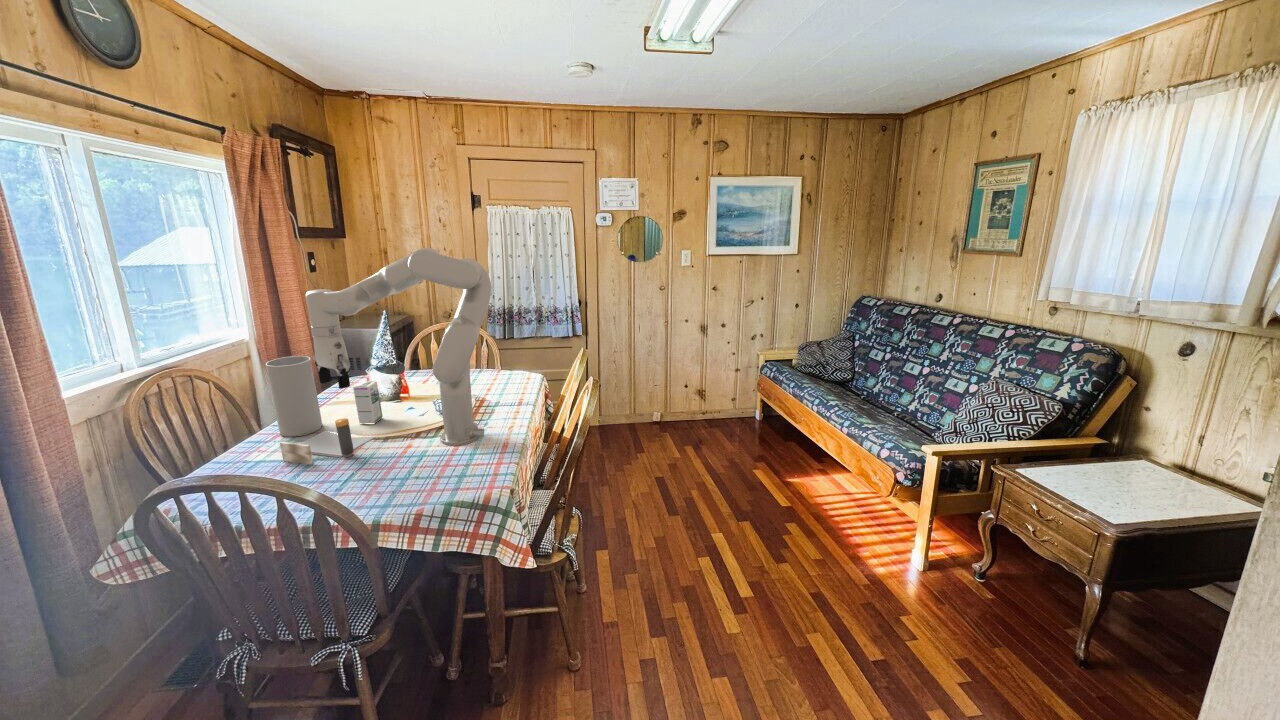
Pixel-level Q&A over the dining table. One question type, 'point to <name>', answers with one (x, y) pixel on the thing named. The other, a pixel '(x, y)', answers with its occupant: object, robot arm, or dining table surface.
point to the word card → (296, 453)
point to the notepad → (330, 444)
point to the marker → (344, 437)
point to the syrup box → (367, 402)
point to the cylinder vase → (294, 395)
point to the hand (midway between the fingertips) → (335, 384)
